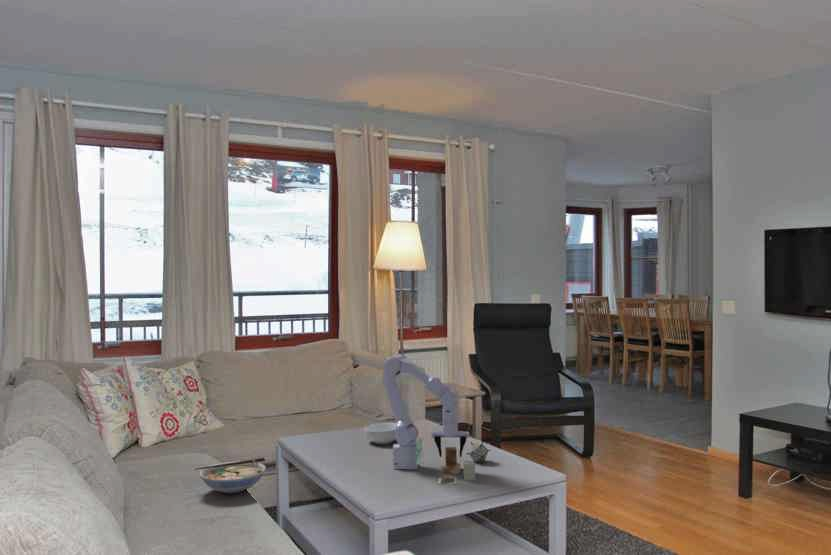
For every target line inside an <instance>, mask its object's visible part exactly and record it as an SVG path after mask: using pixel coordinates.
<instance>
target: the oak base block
mask: <svg viewBox="0 0 831 555" xmlns="http://www.w3.org/2000/svg"><path fill="white" fill-rule="evenodd" d="M440 474H451V475H452V474H455V475H457V474H461V461H457V465H447V466H446V460H444V461H443V460H442V461H441V466H440Z"/></svg>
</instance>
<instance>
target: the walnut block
mask: <svg viewBox="0 0 831 555" xmlns="http://www.w3.org/2000/svg"><path fill="white" fill-rule="evenodd" d="M444 450H445V454H444V455H445V461H446V466H447V465H457V462H458V460H457V458H458V457H457V455H458V454H457V447H456V446H445V448H444Z"/></svg>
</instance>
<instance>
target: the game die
mask: <svg viewBox="0 0 831 555" xmlns="http://www.w3.org/2000/svg"><path fill="white" fill-rule="evenodd" d="M470 444H471V445H470V448H469V451H468V452H466V455H469V456H470V458H471V459H472V461H475V463H476V462H485V463H487V460H486V459H487V456H488V452H491V449H488V448H487V447H486V446H485V444H484V443H483V440H481V442H474V443H473V442H472V441H471V442H470Z"/></svg>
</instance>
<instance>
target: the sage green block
mask: <svg viewBox="0 0 831 555" xmlns="http://www.w3.org/2000/svg"><path fill="white" fill-rule="evenodd" d="M475 463H476V462H475V461H474V460H464V461H463V481H469V482H470V481H474V482H475V481H476V464H475Z"/></svg>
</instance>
